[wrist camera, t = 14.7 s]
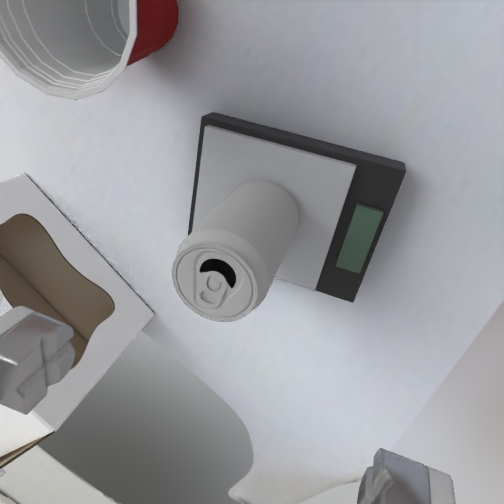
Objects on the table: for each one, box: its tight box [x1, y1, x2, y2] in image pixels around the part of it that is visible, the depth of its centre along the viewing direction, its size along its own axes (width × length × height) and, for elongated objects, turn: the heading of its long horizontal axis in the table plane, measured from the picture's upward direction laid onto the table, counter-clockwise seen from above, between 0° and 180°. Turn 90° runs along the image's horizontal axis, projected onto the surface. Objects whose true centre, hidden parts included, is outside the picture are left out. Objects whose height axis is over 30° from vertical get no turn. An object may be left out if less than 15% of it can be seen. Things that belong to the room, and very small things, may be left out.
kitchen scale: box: [188, 112, 406, 302], centre depth 36 cm, size 17×13×3 cm
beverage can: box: [172, 180, 299, 322], centre depth 29 cm, size 6×6×12 cm
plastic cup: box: [0, 0, 178, 100], centre depth 28 cm, size 11×11×12 cm
